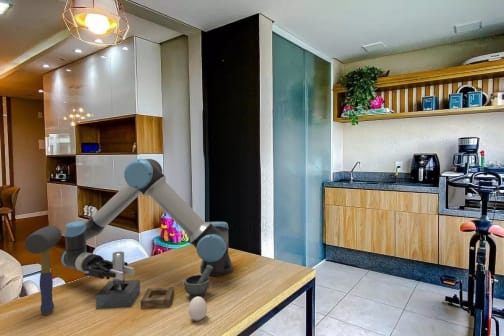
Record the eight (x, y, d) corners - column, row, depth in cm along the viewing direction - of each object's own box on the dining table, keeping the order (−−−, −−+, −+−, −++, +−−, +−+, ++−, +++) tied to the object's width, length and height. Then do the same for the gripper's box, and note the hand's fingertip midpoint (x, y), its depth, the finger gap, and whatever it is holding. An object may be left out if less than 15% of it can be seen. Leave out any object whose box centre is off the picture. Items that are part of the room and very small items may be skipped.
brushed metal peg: (126, 292, 115) (125, 251, 114) (123, 297, 111) (121, 254, 110) (115, 292, 115) (114, 251, 114) (111, 297, 111) (110, 255, 110)
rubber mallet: (51, 321, 99) (48, 232, 98) (26, 324, 97) (21, 233, 96) (66, 303, 111) (63, 223, 110) (43, 305, 109) (40, 224, 108)
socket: (140, 291, 120) (139, 279, 119) (130, 307, 108) (130, 293, 107) (109, 293, 119) (108, 281, 118) (96, 308, 107) (95, 295, 106)
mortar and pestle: (185, 305, 109) (184, 272, 108) (183, 293, 118) (182, 263, 117) (215, 300, 112) (215, 268, 112) (211, 289, 121) (210, 260, 121)
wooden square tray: (174, 294, 117) (173, 287, 117) (169, 307, 107) (169, 299, 107) (147, 296, 116) (147, 288, 116) (140, 309, 106) (140, 300, 106)
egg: (207, 313, 102) (207, 292, 102) (207, 323, 96) (206, 300, 96) (189, 315, 102) (189, 293, 101) (188, 325, 96) (187, 302, 95)
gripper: (109, 265, 129) (146, 275, 117) (69, 280, 114) (107, 293, 103) (108, 248, 129) (146, 257, 117) (68, 260, 114) (106, 272, 102)
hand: (128, 274), depth 110 cm, fingers closed on brushed metal peg, 4 cm apart
